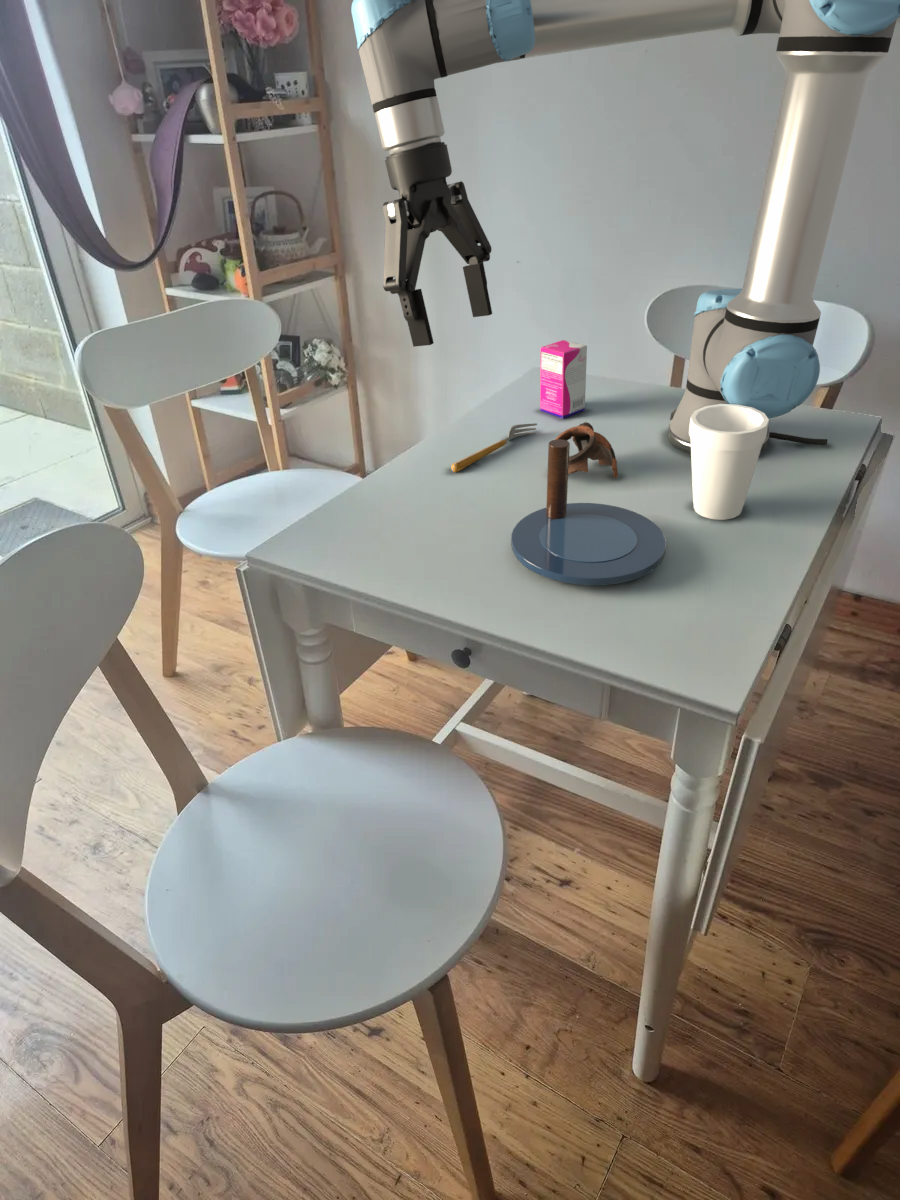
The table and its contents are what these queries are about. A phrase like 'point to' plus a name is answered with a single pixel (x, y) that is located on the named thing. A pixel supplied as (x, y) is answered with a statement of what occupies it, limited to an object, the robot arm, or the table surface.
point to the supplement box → (563, 378)
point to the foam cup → (724, 457)
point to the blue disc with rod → (585, 535)
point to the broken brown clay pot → (589, 448)
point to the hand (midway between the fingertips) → (454, 330)
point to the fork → (492, 447)
